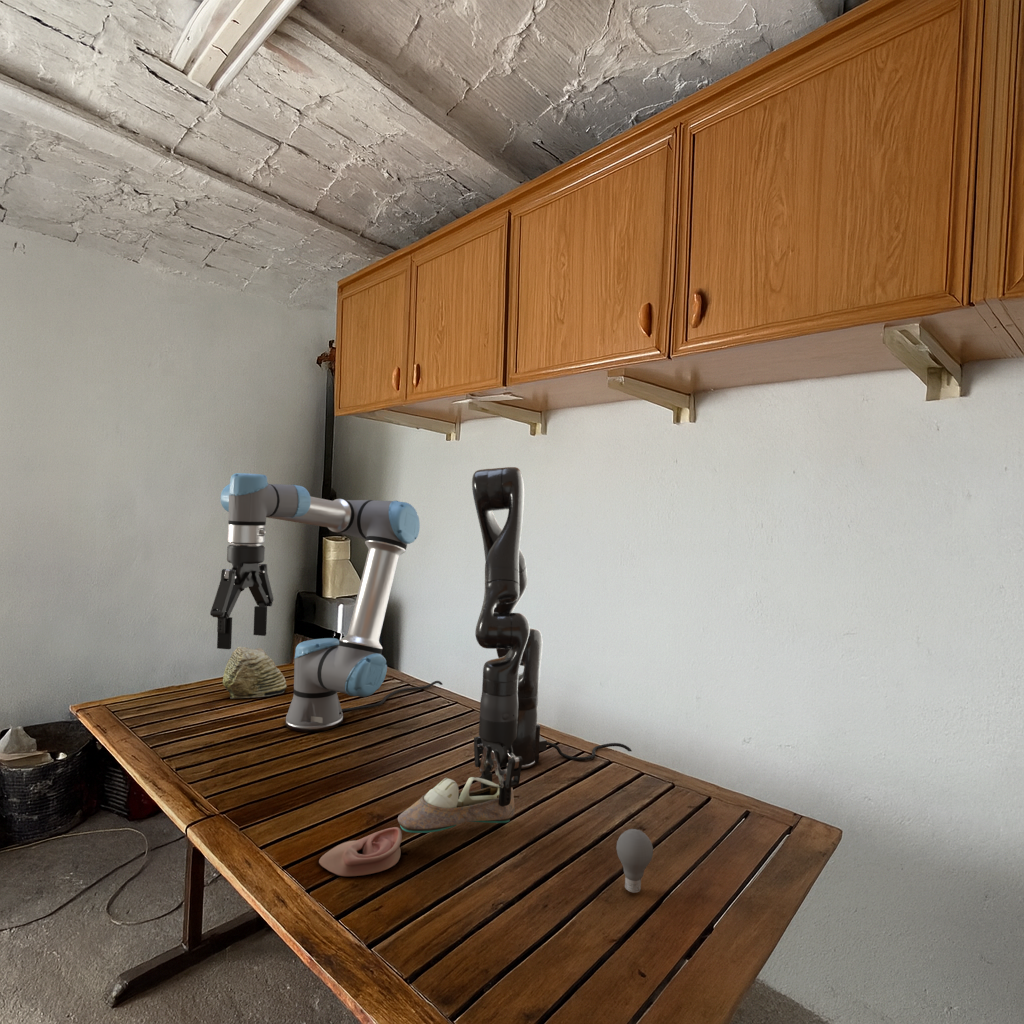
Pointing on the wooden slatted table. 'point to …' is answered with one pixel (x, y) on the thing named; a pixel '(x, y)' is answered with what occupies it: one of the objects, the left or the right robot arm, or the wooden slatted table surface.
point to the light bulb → (634, 857)
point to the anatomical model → (365, 854)
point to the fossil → (252, 674)
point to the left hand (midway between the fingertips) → (242, 641)
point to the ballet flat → (455, 807)
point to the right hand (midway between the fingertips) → (495, 798)
